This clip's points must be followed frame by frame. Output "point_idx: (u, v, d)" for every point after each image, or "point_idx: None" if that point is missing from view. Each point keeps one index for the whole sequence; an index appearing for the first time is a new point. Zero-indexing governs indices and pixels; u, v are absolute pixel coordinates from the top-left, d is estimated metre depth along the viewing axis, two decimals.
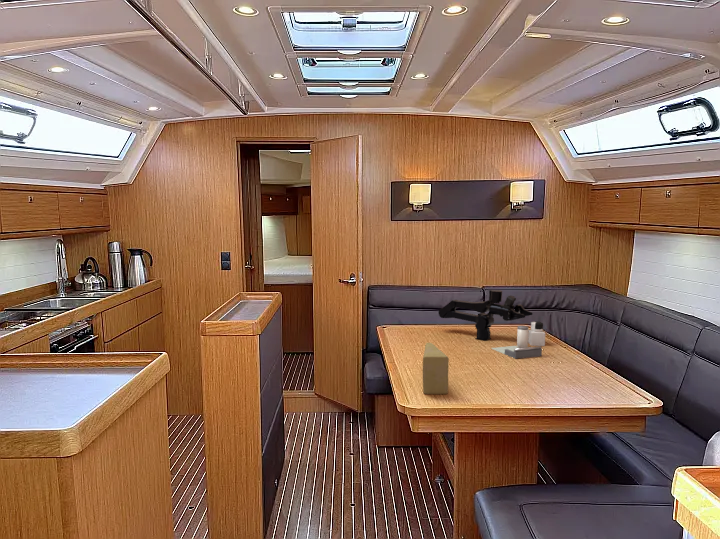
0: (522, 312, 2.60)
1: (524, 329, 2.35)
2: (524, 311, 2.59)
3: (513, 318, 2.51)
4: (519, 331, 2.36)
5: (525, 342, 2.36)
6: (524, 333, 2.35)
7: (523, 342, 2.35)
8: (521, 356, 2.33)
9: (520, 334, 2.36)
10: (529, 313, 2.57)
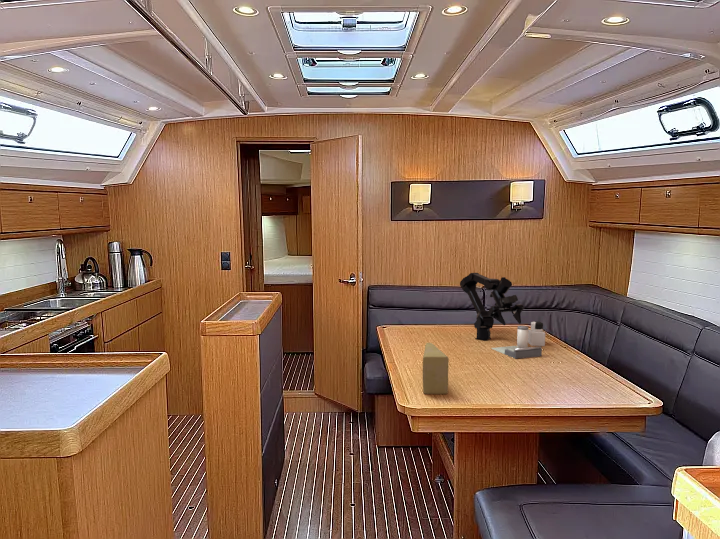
0: (516, 314, 2.50)
1: (524, 329, 2.35)
2: (517, 315, 2.49)
3: (496, 318, 2.47)
4: (519, 331, 2.36)
5: (525, 342, 2.36)
6: (524, 333, 2.35)
7: (523, 342, 2.35)
8: (521, 356, 2.33)
9: (520, 334, 2.36)
10: (518, 321, 2.47)
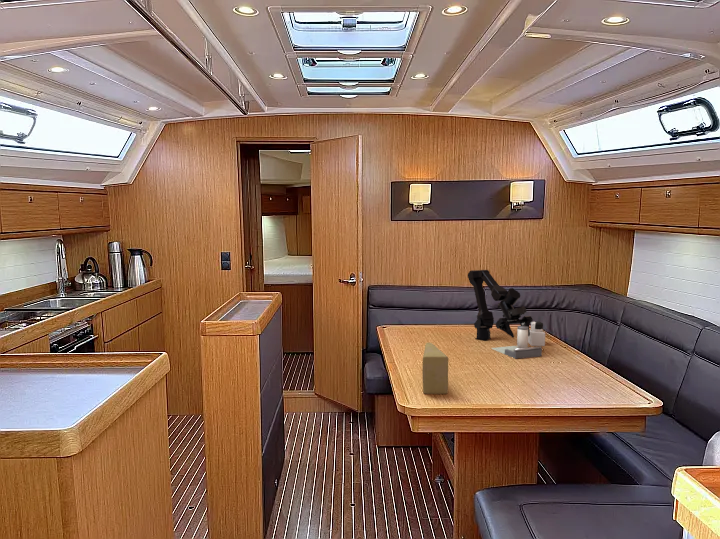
0: None
1: (524, 329, 2.35)
2: None
3: (504, 330, 2.41)
4: (519, 331, 2.36)
5: (525, 342, 2.36)
6: (524, 333, 2.35)
7: (523, 342, 2.35)
8: (521, 356, 2.33)
9: (520, 334, 2.36)
10: None
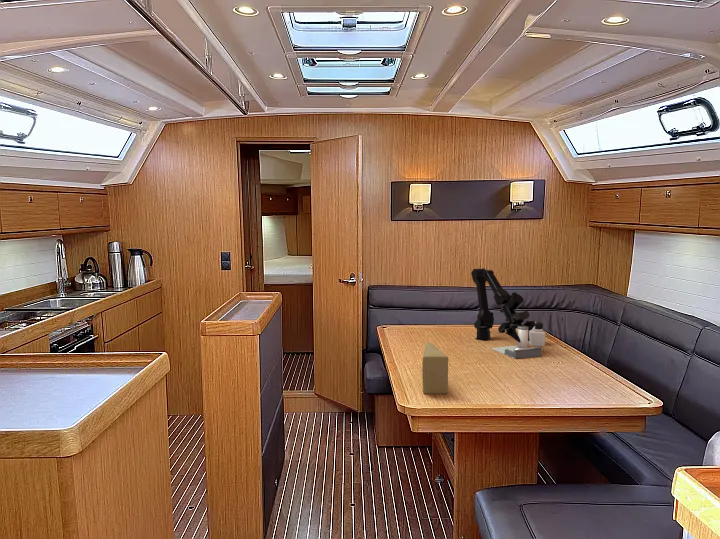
0: None
1: (524, 329, 2.35)
2: None
3: (510, 334, 2.40)
4: (519, 331, 2.36)
5: (525, 342, 2.36)
6: (524, 333, 2.35)
7: (523, 342, 2.35)
8: (521, 356, 2.33)
9: (520, 334, 2.36)
10: None
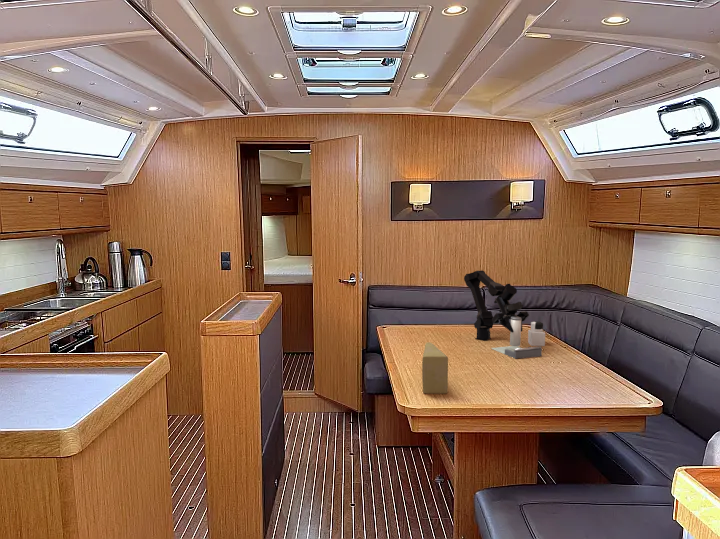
0: None
1: (517, 320, 2.40)
2: None
3: (503, 325, 2.45)
4: (512, 321, 2.41)
5: (518, 332, 2.41)
6: (517, 324, 2.40)
7: (516, 332, 2.40)
8: (521, 356, 2.33)
9: (513, 324, 2.41)
10: None
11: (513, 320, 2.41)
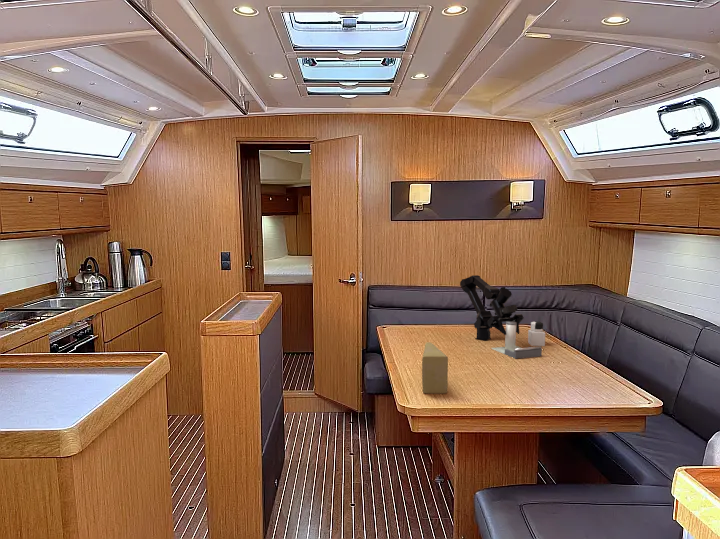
0: None
1: (512, 324, 2.44)
2: None
3: (497, 327, 2.48)
4: (507, 326, 2.45)
5: (513, 337, 2.45)
6: (512, 328, 2.44)
7: (511, 336, 2.44)
8: (521, 356, 2.33)
9: (508, 329, 2.45)
10: (517, 331, 2.47)
11: (508, 325, 2.45)
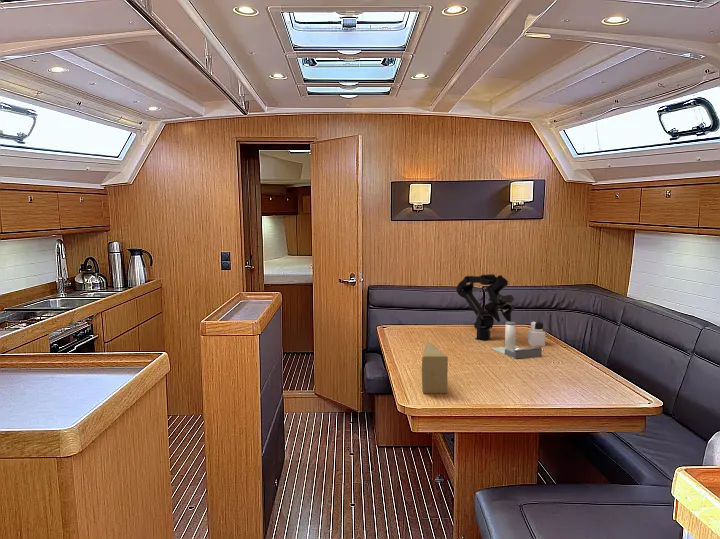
0: (506, 313, 2.58)
1: (512, 324, 2.44)
2: (508, 315, 2.57)
3: (491, 313, 2.52)
4: (507, 326, 2.45)
5: (513, 337, 2.45)
6: (512, 328, 2.44)
7: (511, 337, 2.44)
8: (521, 356, 2.33)
9: (508, 329, 2.45)
10: (508, 320, 2.56)
11: (508, 325, 2.45)
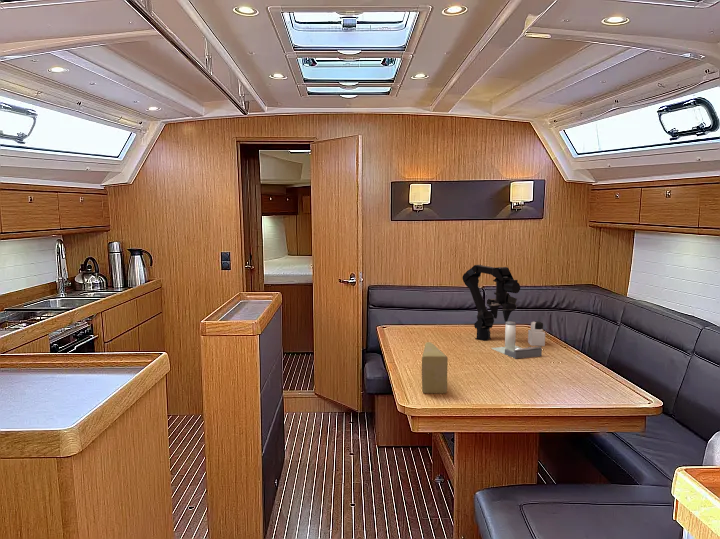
0: (495, 308, 2.62)
1: (512, 324, 2.44)
2: (496, 310, 2.62)
3: (505, 312, 2.51)
4: (507, 326, 2.45)
5: (513, 337, 2.45)
6: (512, 328, 2.44)
7: (511, 337, 2.44)
8: (521, 356, 2.33)
9: (508, 329, 2.45)
10: (495, 315, 2.62)
11: (508, 325, 2.45)
